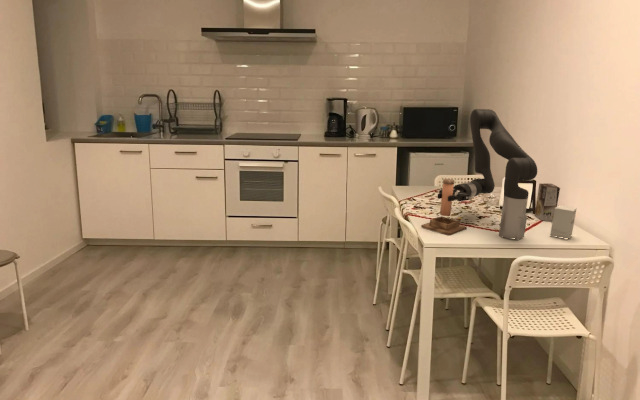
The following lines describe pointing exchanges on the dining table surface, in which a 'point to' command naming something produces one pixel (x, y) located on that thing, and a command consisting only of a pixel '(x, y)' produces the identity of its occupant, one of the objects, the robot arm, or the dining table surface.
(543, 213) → the coffee box
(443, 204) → the wooden peg
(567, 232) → the supplement box
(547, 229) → the dining table surface
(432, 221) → the walnut socket board
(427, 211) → the dining table surface
